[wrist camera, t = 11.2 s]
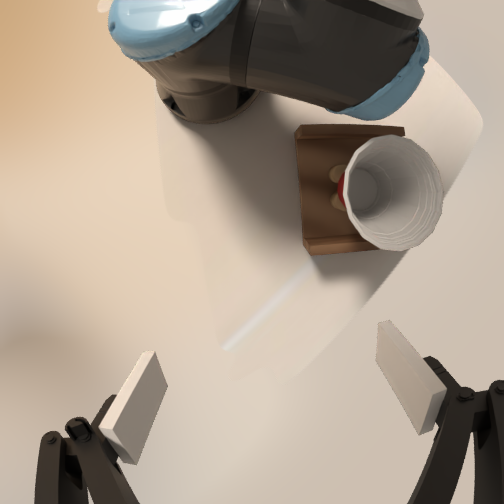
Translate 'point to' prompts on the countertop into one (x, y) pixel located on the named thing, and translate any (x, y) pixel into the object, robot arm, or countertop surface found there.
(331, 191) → the peg board
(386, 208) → the plastic cup
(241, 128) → the countertop surface
